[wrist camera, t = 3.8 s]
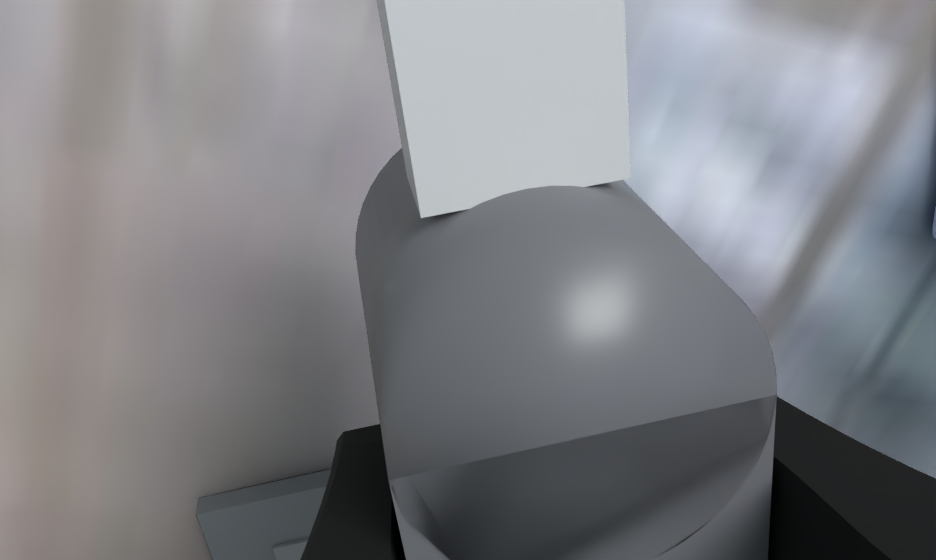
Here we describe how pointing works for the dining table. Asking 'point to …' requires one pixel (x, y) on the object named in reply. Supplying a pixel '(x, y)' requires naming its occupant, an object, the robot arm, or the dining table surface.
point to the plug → (548, 309)
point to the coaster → (263, 519)
